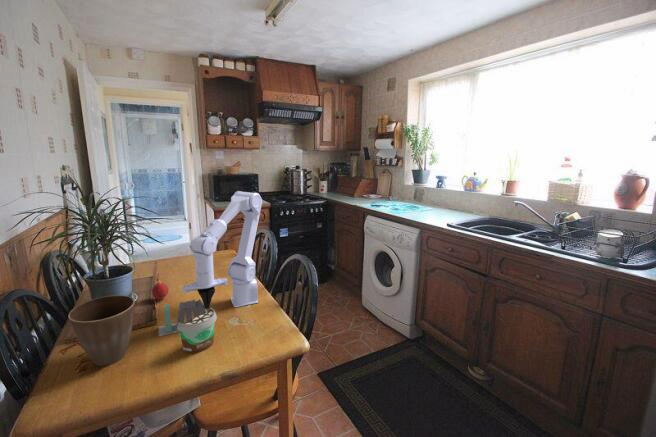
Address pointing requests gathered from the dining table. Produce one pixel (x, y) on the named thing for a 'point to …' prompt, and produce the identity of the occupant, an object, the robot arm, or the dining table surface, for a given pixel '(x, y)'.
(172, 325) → the coaster
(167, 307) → the domino
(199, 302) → the domino
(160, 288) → the onion
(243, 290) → the robot arm
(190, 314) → the domino
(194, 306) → the domino
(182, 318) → the domino
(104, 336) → the plant pot
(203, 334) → the food container
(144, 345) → the dining table surface
